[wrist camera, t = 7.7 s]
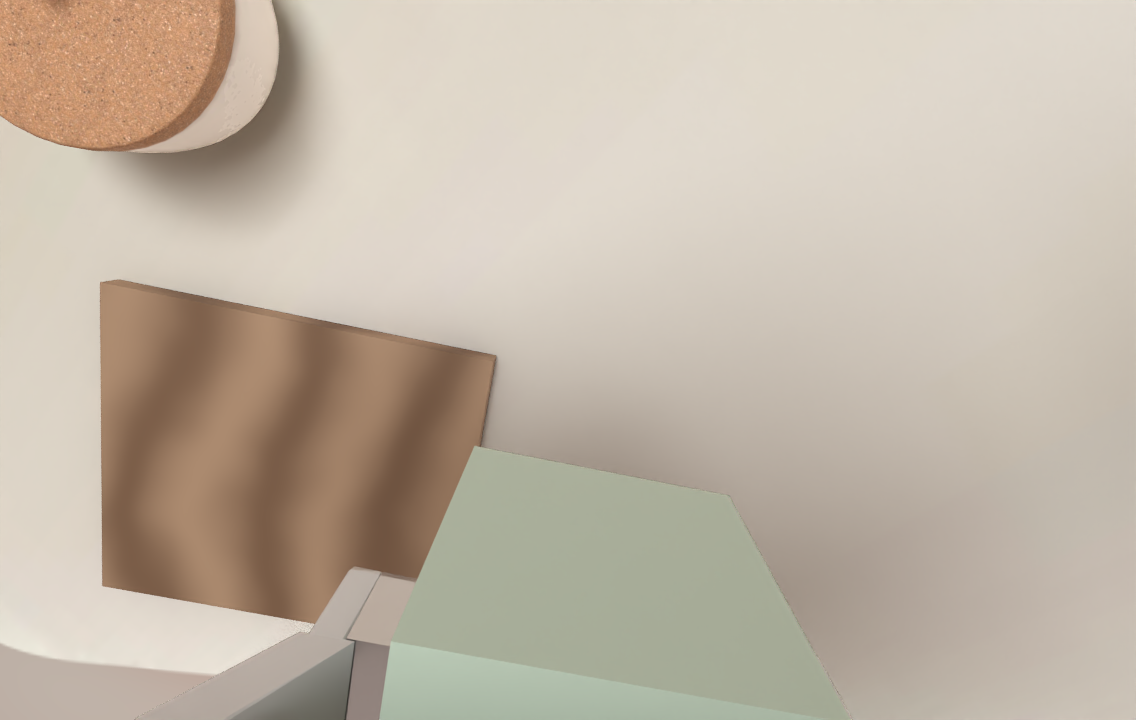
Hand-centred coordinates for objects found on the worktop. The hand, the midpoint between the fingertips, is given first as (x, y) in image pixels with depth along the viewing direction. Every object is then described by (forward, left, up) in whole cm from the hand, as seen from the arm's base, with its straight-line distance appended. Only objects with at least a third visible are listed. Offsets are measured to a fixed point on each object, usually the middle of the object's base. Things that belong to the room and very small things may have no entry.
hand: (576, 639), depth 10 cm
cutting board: (+14, +10, -21) cm, 27 cm away
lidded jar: (+20, -11, -21) cm, 31 cm away
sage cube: (0, 0, -2) cm, 2 cm away
